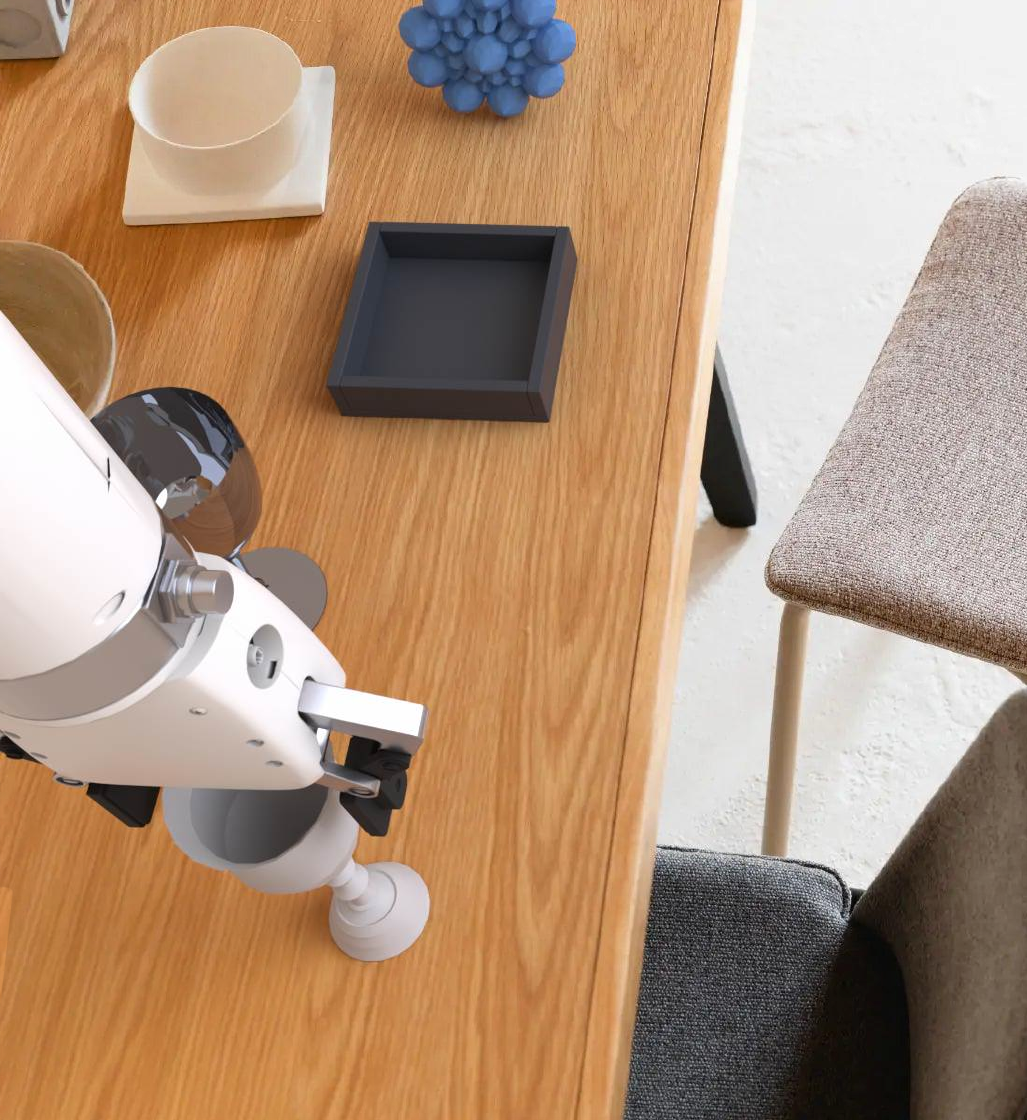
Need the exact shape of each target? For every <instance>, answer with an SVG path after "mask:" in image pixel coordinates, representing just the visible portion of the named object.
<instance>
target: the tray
mask: <svg viewBox="0 0 1027 1120" xmlns="http://www.w3.org/2000/svg"><path fill="white" fill-rule="evenodd" d="M362 243H363V244H362V247H361V251H360V255H359V259H358V263H357V266H356V269H355V273H354V277H353V282H352V285H351V288H350V293H349V295H348V300H347V303H346V308H345V312H344V314H343V319H342V323H341V326H340V330H339V334H338V338H337V342H336V344H335V345H336V346H335V349H334V353H333V357H332V361H331V364H330V367H329V372H328V376H327V379H326V383H325V387H326V389H327V391H328V393H329V395H330V396H331V398H332V400H333V402H334V404H335V406H336V407H337V409H338V411H339V414H340V415H341V416H342V417H364V418H365V417H367V418H400V419H401V418H403V419H404V418H405V419H433V420H434V419H435V420H466V421H470V420H471V421H496V422H497V421H501V422H503V421H504V422H531V423H532V422H534V423H535V422H536V423H550V421H551V416H552V409H553V404H554V398H555V392H556V387H557V381H558V377H559V370H560V364H561V358H562V351H563V348H564V347H563V346H564V341H565V335H566V329H567V324H568V317H569V312H570V306H571V300H572V294H573V289H574V282H575V277H576V272H577V265H578V261H579V259H578V255H577V251H576V247H575V243H574V240H573V236H572V232H571V229H570V226H568V225H567V226H566V225H557V226H556V225H532V224H531V225H527V224H526V225H525V224H524V225H523V224H492V223H491V224H490V223H487V224H485V223H447V222H414V221H413V222H411V221H382V222H381V221H369V222H368V225H367V229H366V233H365V236H364V239H363V242H362Z"/></svg>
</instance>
